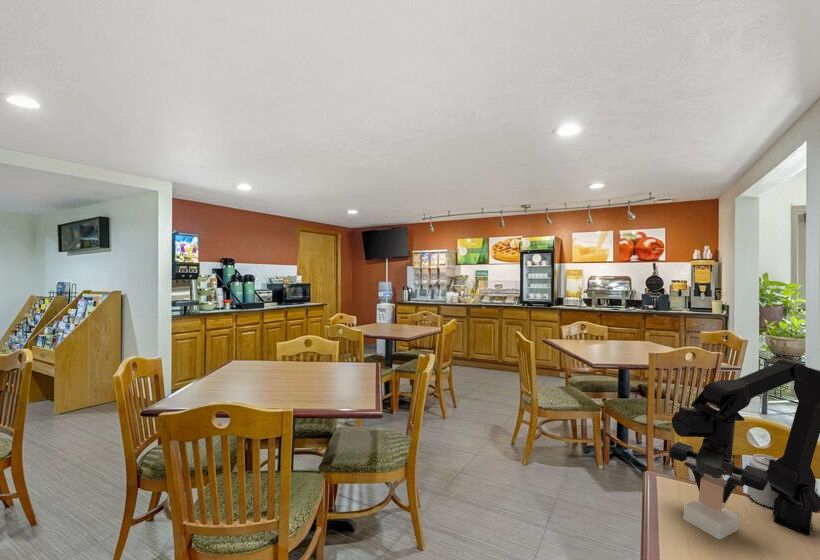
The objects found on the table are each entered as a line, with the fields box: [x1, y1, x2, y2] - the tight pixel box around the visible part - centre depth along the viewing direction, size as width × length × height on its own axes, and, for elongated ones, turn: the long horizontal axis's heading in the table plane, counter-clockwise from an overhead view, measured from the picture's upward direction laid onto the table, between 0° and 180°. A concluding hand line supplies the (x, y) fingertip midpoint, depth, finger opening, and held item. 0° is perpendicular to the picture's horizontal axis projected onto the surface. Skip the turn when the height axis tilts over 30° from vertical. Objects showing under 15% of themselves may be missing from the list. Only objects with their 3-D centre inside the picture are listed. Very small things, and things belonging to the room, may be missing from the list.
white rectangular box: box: [683, 498, 739, 540], centre depth 99 cm, size 8×8×4 cm
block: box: [698, 473, 727, 511], centre depth 99 cm, size 4×4×6 cm
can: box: [746, 453, 779, 509], centre depth 109 cm, size 8×8×12 cm
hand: (712, 497), depth 99 cm, fingers closed on block, 4 cm apart
